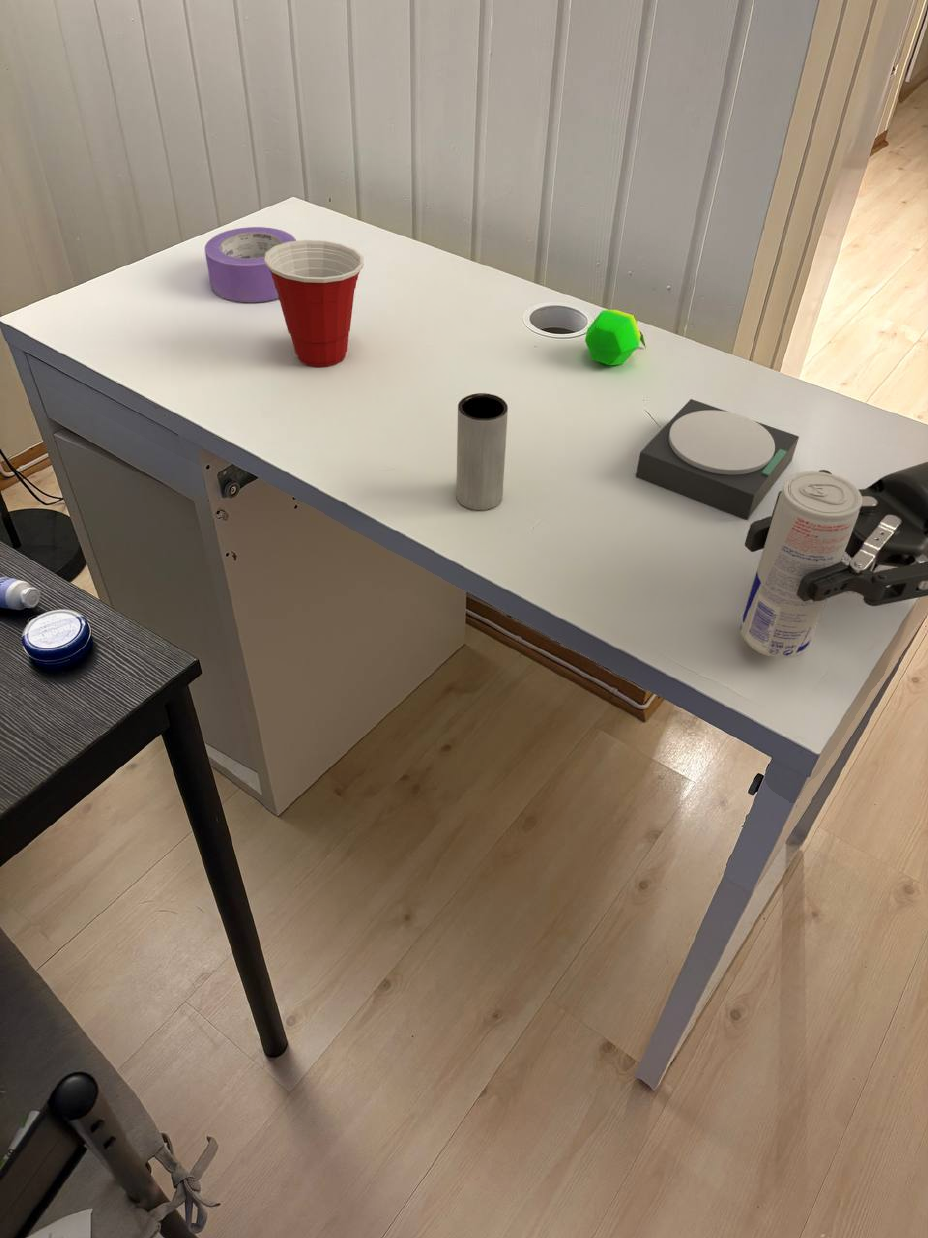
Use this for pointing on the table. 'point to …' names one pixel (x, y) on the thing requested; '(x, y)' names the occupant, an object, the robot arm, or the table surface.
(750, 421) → the scale
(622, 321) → the apple
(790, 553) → the beverage can
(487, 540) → the table surface
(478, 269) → the table surface
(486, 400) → the grey cylindrical tube
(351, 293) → the plastic cup
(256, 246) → the tape roll
